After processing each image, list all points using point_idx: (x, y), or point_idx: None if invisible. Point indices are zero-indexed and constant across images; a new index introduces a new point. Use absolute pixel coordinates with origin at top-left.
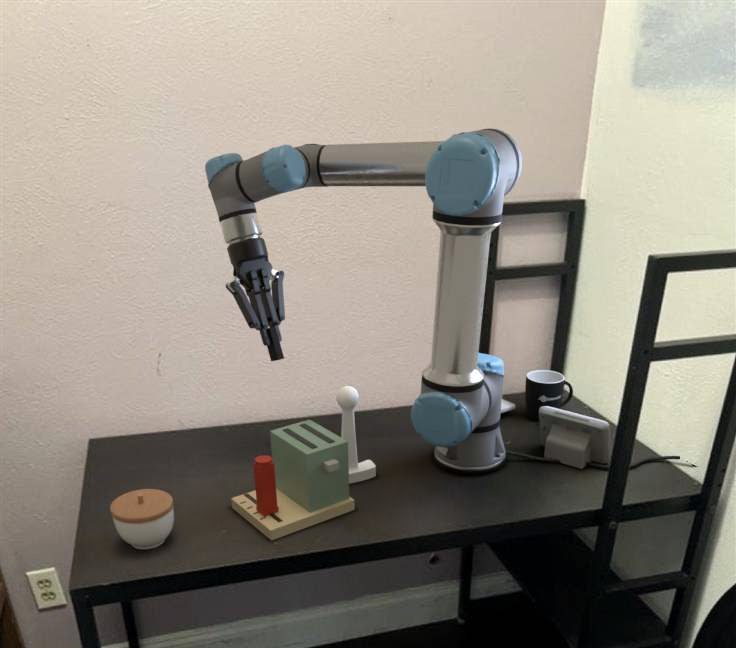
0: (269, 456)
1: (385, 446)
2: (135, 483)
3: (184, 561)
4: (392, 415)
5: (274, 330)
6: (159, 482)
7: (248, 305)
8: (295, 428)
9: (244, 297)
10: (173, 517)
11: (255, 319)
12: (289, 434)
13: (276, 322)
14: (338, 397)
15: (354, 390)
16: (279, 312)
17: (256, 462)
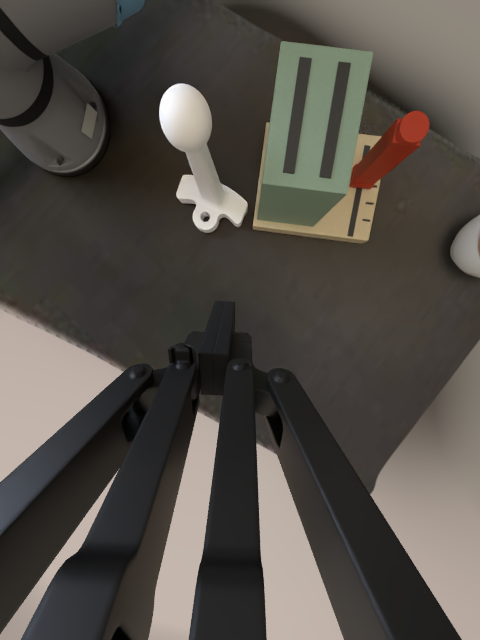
0: (401, 126)
1: (122, 237)
2: (397, 372)
3: (471, 181)
4: (51, 302)
5: (210, 345)
6: (377, 355)
7: (331, 474)
8: (308, 167)
9: (378, 559)
10: (477, 218)
11: (289, 393)
12: (335, 151)
13: (184, 361)
14: (209, 119)
15: (172, 86)
16: (135, 393)
17: (427, 128)
